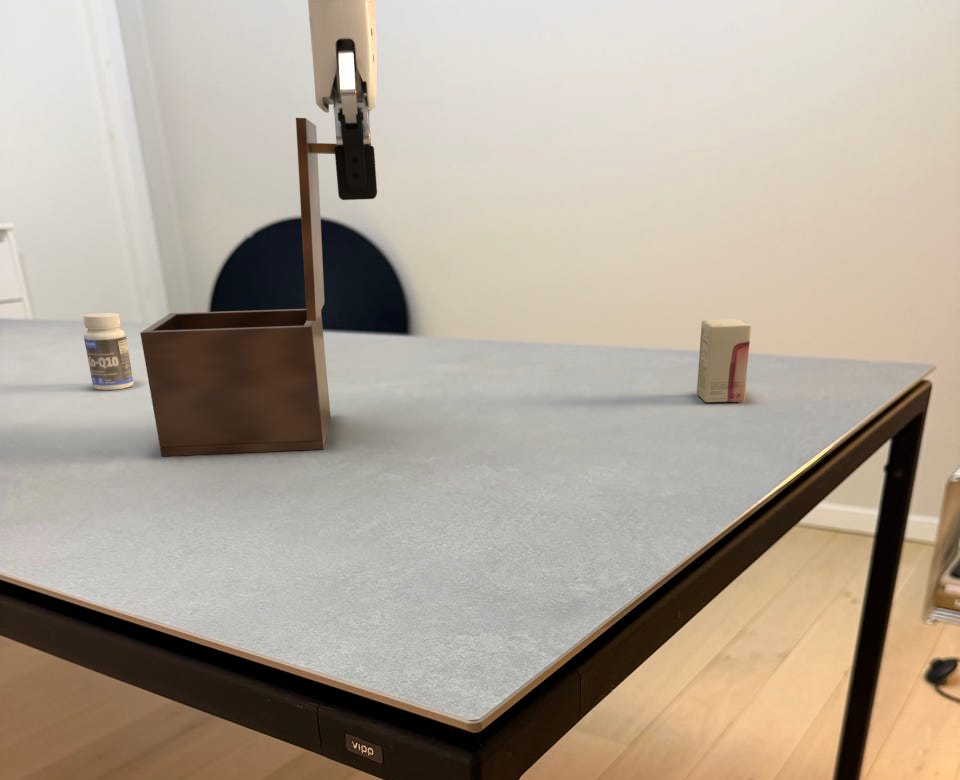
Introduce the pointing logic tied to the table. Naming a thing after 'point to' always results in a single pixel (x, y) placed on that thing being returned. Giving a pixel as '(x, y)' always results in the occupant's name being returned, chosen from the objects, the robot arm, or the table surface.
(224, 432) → the chest
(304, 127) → the lid
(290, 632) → the table surface
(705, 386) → the small box
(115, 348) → the pill bottle
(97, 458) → the table surface
